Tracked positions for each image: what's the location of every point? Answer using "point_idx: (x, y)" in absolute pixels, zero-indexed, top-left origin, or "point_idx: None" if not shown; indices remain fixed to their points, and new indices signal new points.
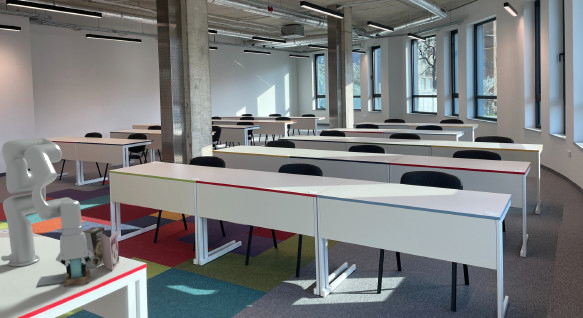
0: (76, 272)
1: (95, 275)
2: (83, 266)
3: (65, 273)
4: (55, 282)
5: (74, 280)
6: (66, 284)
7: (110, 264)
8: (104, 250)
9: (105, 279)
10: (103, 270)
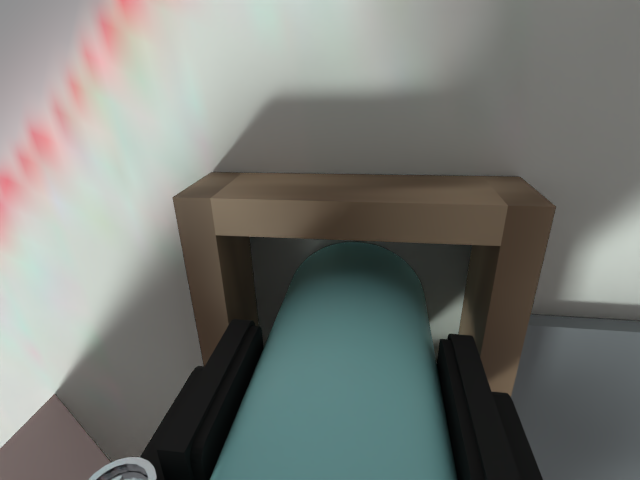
0: (335, 328)
1: (189, 370)
2: (179, 411)
3: None
4: (629, 345)
5: (377, 197)
6: (496, 186)
7: (31, 475)
8: None
9: (44, 213)
10: (145, 446)
